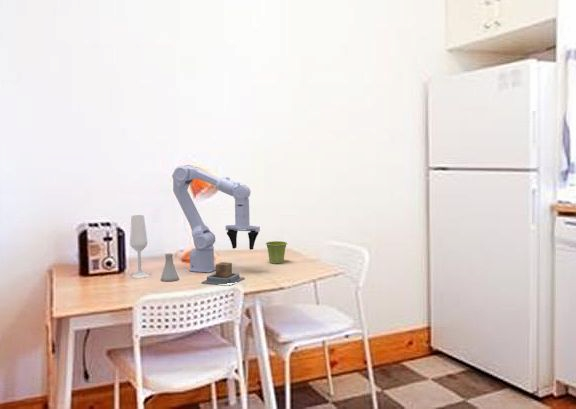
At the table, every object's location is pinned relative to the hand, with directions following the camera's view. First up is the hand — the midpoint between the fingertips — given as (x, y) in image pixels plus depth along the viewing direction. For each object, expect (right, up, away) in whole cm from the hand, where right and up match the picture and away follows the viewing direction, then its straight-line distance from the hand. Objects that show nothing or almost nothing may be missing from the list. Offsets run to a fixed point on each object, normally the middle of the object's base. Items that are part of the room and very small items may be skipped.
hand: (242, 248), depth 230 cm
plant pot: (+13, -8, +19) cm, 24 cm away
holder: (-6, -11, -15) cm, 20 cm away
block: (-6, -10, -15) cm, 19 cm away
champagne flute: (-41, -11, -4) cm, 42 cm away
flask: (-27, -11, -12) cm, 32 cm away
